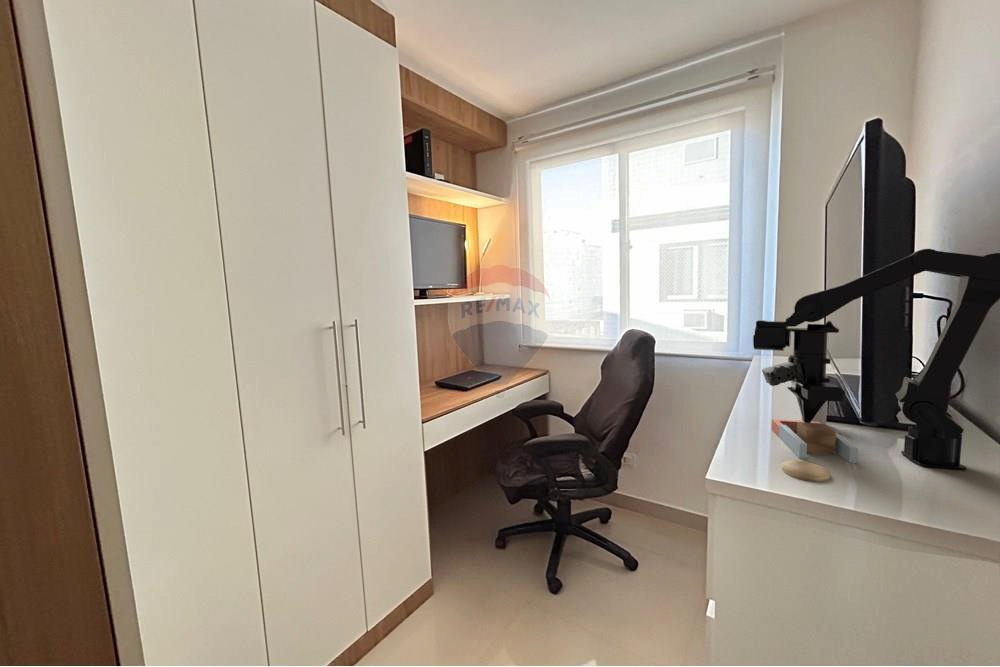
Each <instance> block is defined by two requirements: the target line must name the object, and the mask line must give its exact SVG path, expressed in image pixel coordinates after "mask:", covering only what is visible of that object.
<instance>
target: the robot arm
mask: <svg viewBox="0 0 1000 667" xmlns="http://www.w3.org/2000/svg"><path fill="white" fill-rule="evenodd" d="M922 272H923V273H924V272H929V273H935V274H939V275H940V274H941V275H946V276H950V277H951V276H952V277H957V278H959V280H958V287H957V296H956V297H957V298H956V303H955V305H954V307H953V309H952V311H951V313H950V315H949V317H948V319H947V321H946V322H945V325H944V327H943V329H942V331H941V333H940V335H939V337H938V339H937V341H936V343H935V344H934V346H933V349H932V350H931V353H930V355H929V357H928V359H927V361H926V364H925V365H924V367H923V369H922V371H921V372H920V373H919V374H918V375H917V376H916V377H915V378H909V377H908V376H904V377H903V381H902V386H901V387H900V389H899V390H898V391H897V392H896V393H895V395H896V398H897V399H898V401H897V402H898V406H899V407H900V410H901V412H902V414H903V415H904V418H906V419H907V420H909V421H910V422H911V423H914V424H915V425H914V426H909V425H908V430H907V431H908V432H907V433H906V434H905V435H904V444H903V446H904V447H903V450H901V452H900V454H902V455H903V456H905V457H907V458H908V459H909V460H911V461H913V462H914V463H916V464H918V465H919V466H920V467H928V468H938V469H939V468H940V469H951V470H963V471H966V470H967V468H968V467H967V466H966V465H963V464H962V463H961V454H962V444H963V432H964V431H965V430H964V427H962V425H961V424H959V422H958V421H957V419H956V418H954V416H953V415H952V414H950V413H949V412H948V409H949V405H950V401H951V394H952V393H951V391H952V382H953V380H954V378H955V376H956V374H957V373H958V370H959V368H961V365H962V363H963V361H964V359H965V358H966V355H967V353H968V351H969V350H970V348H971V346H972V344H973V342H974V339H975V338H976V336H977V334H978V332H979V331H980V329H981V326H982V325H983V323H984V322H985V319H986V317H987V315H988V314H989V311H990V310H991V308H992V307H993V306H994V305H995V304H996V303H997V302H999V300H1000V252H994V253H989V254H988V253H987V254H983V255H976V254H975V255H974V254H967V253H965V254H964V253H959V252H958V253H956V252H947V251H940V250H936V249H932V248H922V249H919V250H916V251H915V252H912V253H911V254H910V255H908V256H906V257H903V258H902V259H899V260H897V261H895V262H892V263H890V264H887V265H886V266H883V267H881V268H878V269H877V270H874V271H872V272H869V273H867V274H865V275H863V276H861V277H858V278H856V279H854V280H852V281H849V282H847V283H844V284H842V285H839V286H836V287H832V288H827V289H824V290H820V291H817V292H814V293H810V294H807V295H803V296H802V297H801V298H799V299H797V301H796V302H795V305H794V308H793V310H794V312H793V313H792V314H791V315H790V316H788V317H786V318H785V321H776V320H773V321H771V320H763V319H762V320H761V319H759V320H757V321H755V329H754V335H753V336H752V337H753V338H752V343H753V349H754V350H755V351H756V350H758V351H777V352H785V349H786V347H789V348H790V347H791V343H792V342H791V340H792V339H791V338H792V333H793V353H792V354H790V355H789V356H788V359H787V362H782V363H778V364H775V365H771V366H767V367H764V368H761V372H762V374H763V377H764V380H765V383H767V384H769V386H772V387H775V386H779V385H780V384H785V383H786V382H787V383H788V382H790V384H791V385H790V386H787V387H786V388H787V390H789V391H790V392H791V393H792V394H793V395H794V396H795V397H796V401H797V403H798V407H799V410H800V414H801V419H802V418H803V421H804V422H805V423H810V422H811V421H812V420H813V418H814V417H815V415H816V414H817V413H818V411H819V410H820V408H821V407H822V406H823V405H824V403H825V402H826V401H827V402H845V401H846V391H845V390H844V389H843V388H841V386H839V385H837V384H834V383H830V377H828V376H827V364H828V365H830V364H831V358H828V357H827V356H828V354H827V352H828V333H830V334H831V333H833V334H834V333H835V334H838V333H839V332H840V329H839V327H837V326H835V325H834V324H833V322H832V321H831V320H828V321H826V322H825V323H817V324H816V323H815V322H819V321H821V320H823V319H825V318H827V317H828V316H830V315H831V314H833V313H835V312H836V311H838V310H839V309H841V308H843V307H845V306H846V305H847V304H849V303H851V302H853V301H855V300H857V299H860V298H863V297H864V296H867V295H869V294H872V293H874V292H876V291H880V290H881V289H884V288H887V287H889V286H891V285H893V284H896V283H899V282H901V281H903V280H906V279H908V278H911V277H913V276H916V275H918V274H921V273H922ZM806 322H807V326H806V327H797V326H799V325H801V324H804V323H806Z"/></svg>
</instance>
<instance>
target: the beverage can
mask: <svg viewBox="0 0 1000 667" xmlns="http://www.w3.org/2000/svg"><path fill="white" fill-rule="evenodd" d="M827 411H828V401H826V402H825V403H824V405H823V406H822V407H821V408H820V410H819V411H818V413H817V414H816V415H815V417H814V418H813V420H812V421H811V422H820V423H821V424H826V425H827V415H828V414H827ZM800 421H803V418H802V417H801V419H800Z"/></svg>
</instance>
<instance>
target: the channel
mask: <svg viewBox="0 0 1000 667" xmlns="http://www.w3.org/2000/svg"><path fill="white" fill-rule="evenodd" d="M778 438H779V439H780V440H781V441H782V442H783V444H785V445H786V446H787V448H789V449H790V450H791V452H793V454H794V455H795V456H796V457H797V458H798V459H803V460H804V459H805V460H807V454H808V453H807V444H806V443H805V442H804V441H803V440H802V439H801V438H800V437H798V436H797V435H796V434H795V433H794V432H793V431H792V430H791V429H790V428H789V427H788V426H786V425H780V427H779V437H778ZM835 453H837V454H839V456H840V457H842V458H843V459H844V460H846V461H847V462H848V463H850V464H853V463H854V464H858V454H859V448H858V447H857V446H855V445H854V444H853V442H850V441H849V440H848V439H846V438H845V437H844V436H842V435H840V434H839V433H838V432H836V442H835Z"/></svg>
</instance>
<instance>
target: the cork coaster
mask: <svg viewBox="0 0 1000 667" xmlns="http://www.w3.org/2000/svg"><path fill="white" fill-rule="evenodd" d="M781 470H782V472H784V473H785V474H787V475H789V476H790V477H792V478H796V479H799V480H803V481H808V482H820V483H821V482H827V481H829V480H831V472H830V470H828V469H827V468H825V467H823V466H821V465H819V464H816V463H813V462H810V461H809V462H808V461H803V460H786V461H783V462H782V466H781Z"/></svg>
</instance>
